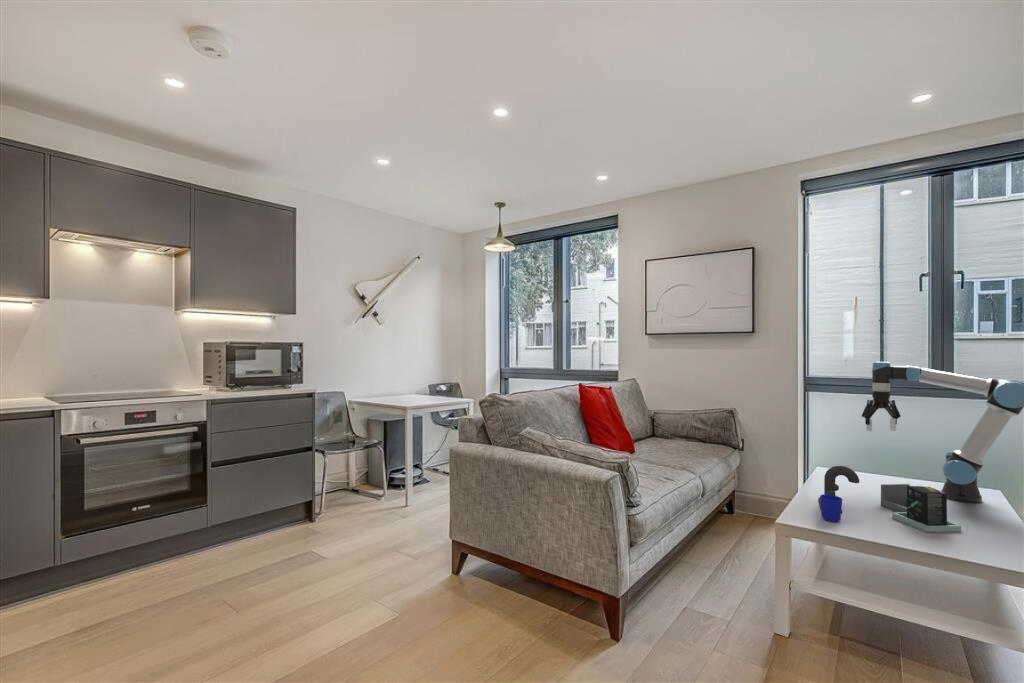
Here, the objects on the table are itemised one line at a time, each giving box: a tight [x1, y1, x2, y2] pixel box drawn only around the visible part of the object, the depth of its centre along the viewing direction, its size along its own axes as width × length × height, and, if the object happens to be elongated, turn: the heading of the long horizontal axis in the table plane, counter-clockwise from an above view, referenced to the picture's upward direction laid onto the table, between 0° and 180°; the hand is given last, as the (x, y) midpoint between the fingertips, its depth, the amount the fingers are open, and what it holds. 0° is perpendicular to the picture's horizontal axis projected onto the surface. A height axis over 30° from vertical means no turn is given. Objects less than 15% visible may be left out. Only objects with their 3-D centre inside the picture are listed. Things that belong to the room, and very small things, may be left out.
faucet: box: [818, 465, 860, 514], centre depth 230 cm, size 18×16×20 cm
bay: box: [880, 483, 911, 512], centre depth 227 cm, size 14×15×10 cm
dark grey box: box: [906, 485, 948, 526], centre depth 209 cm, size 11×9×15 cm
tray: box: [891, 511, 962, 534], centre depth 209 cm, size 15×17×2 cm
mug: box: [819, 494, 843, 523], centre depth 216 cm, size 8×12×10 cm
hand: (881, 430), depth 258 cm, fingers open, 13 cm apart
